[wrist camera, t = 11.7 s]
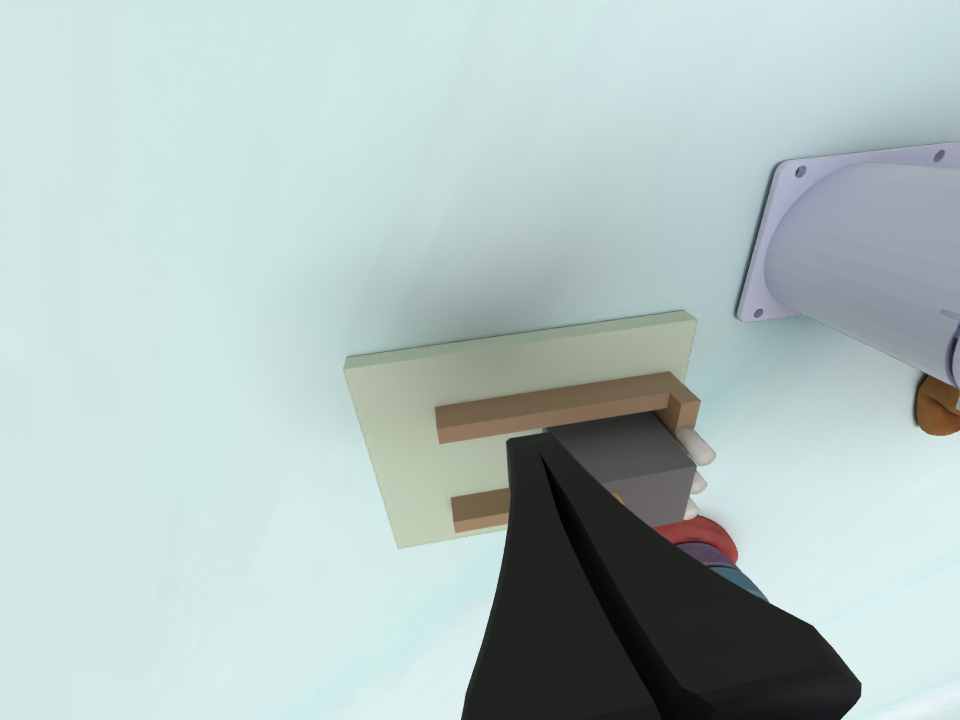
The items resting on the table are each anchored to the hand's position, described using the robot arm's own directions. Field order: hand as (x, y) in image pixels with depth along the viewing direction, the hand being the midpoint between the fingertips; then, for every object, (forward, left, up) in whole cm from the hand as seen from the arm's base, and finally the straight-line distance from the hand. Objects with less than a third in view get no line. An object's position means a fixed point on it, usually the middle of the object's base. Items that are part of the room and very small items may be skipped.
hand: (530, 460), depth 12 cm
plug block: (-6, +8, -9) cm, 13 cm away
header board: (-2, +8, -10) cm, 13 cm away
